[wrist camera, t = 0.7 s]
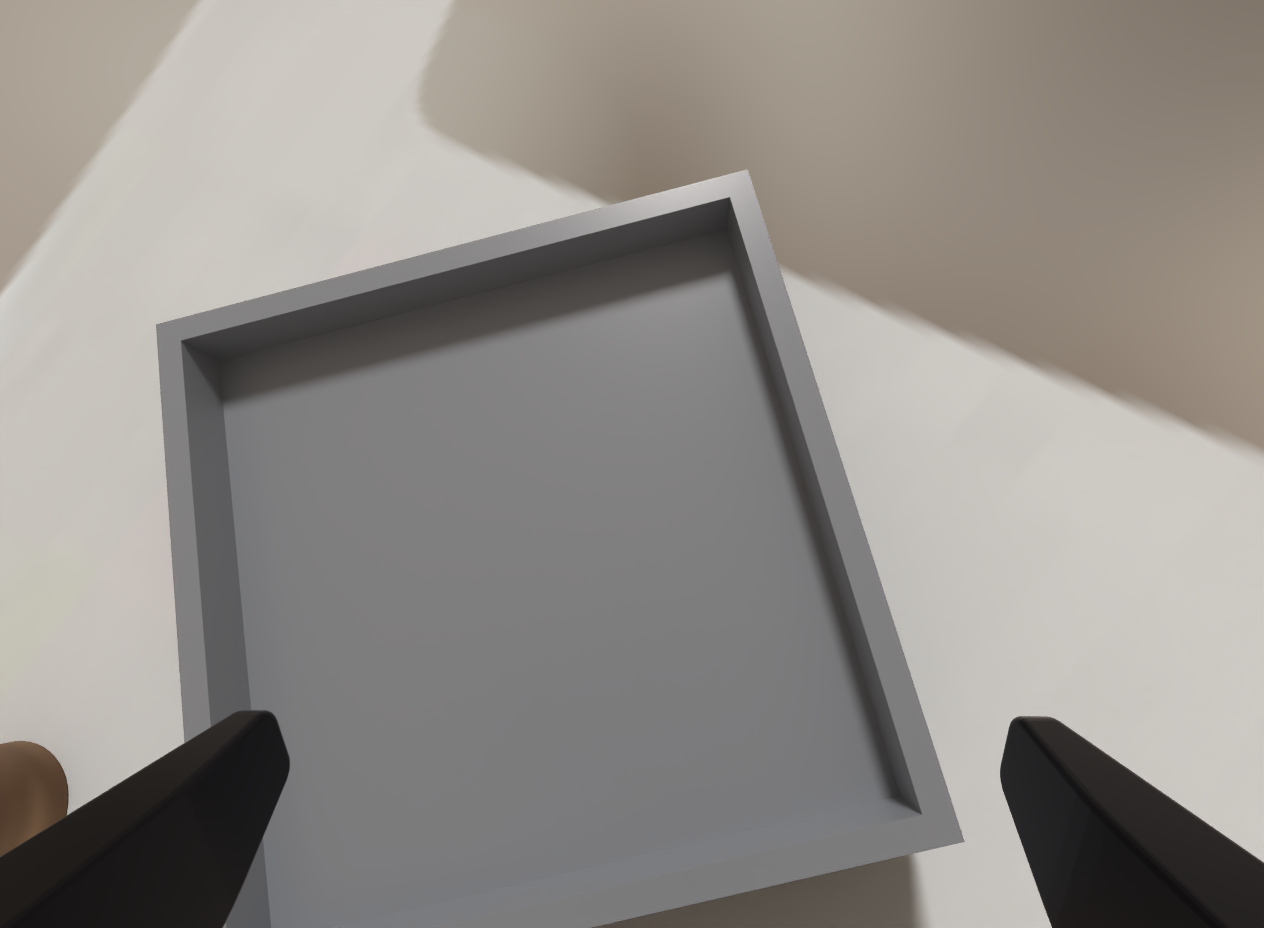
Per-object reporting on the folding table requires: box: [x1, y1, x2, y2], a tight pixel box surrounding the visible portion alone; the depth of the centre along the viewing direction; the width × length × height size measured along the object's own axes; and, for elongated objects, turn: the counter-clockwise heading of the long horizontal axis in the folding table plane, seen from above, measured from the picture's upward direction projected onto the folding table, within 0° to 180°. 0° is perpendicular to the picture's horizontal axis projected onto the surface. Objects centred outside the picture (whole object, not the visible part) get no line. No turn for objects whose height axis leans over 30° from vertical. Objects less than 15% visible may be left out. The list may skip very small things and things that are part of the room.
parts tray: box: [156, 170, 964, 928], centre depth 21 cm, size 20×20×4 cm
